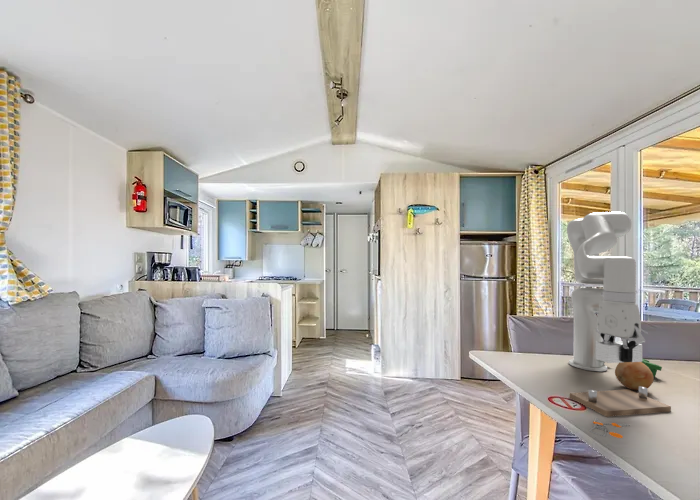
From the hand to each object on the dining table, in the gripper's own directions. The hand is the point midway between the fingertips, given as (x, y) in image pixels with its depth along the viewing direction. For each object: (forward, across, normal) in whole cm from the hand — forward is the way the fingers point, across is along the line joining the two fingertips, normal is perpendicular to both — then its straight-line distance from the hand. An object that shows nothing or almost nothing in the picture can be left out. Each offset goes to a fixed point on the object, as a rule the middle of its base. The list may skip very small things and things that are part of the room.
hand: (618, 358), depth 98 cm
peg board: (+14, 0, 0) cm, 14 cm away
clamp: (+14, -22, +37) cm, 45 cm away
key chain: (+14, +11, -16) cm, 24 cm away
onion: (+14, -9, +17) cm, 24 cm away
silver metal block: (0, 0, 0) cm, 0 cm away
